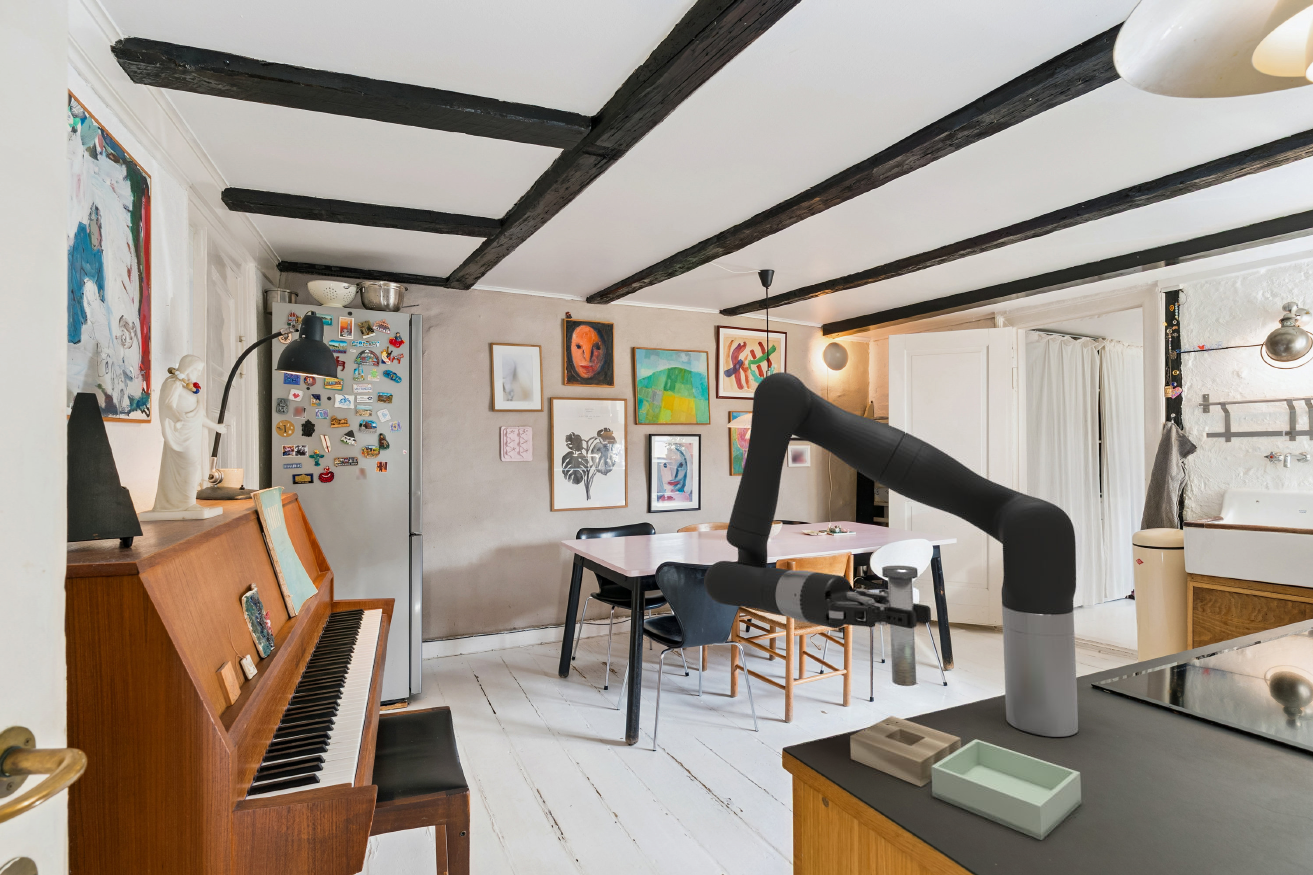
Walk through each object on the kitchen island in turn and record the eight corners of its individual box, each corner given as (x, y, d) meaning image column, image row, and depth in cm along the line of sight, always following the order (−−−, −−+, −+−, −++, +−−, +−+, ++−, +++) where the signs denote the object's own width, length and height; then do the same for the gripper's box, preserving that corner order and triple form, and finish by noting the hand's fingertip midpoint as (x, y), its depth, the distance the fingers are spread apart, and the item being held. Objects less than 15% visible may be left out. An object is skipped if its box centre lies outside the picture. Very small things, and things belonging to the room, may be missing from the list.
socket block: (892, 736, 95) (891, 715, 95) (961, 760, 88) (960, 737, 88) (850, 758, 89) (850, 735, 89) (921, 786, 81) (920, 761, 81)
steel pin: (898, 673, 92) (893, 564, 92) (928, 681, 88) (923, 567, 88) (880, 681, 89) (875, 568, 89) (910, 690, 85) (905, 572, 86)
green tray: (976, 766, 86) (975, 738, 86) (1081, 802, 77) (1080, 772, 77) (932, 795, 79) (931, 766, 79) (1041, 840, 70) (1040, 806, 70)
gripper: (782, 579, 95) (890, 597, 82) (841, 565, 104) (948, 580, 91) (784, 632, 95) (893, 658, 82) (843, 614, 104) (950, 635, 91)
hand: (921, 617), depth 86 cm, fingers closed on steel pin, 3 cm apart
